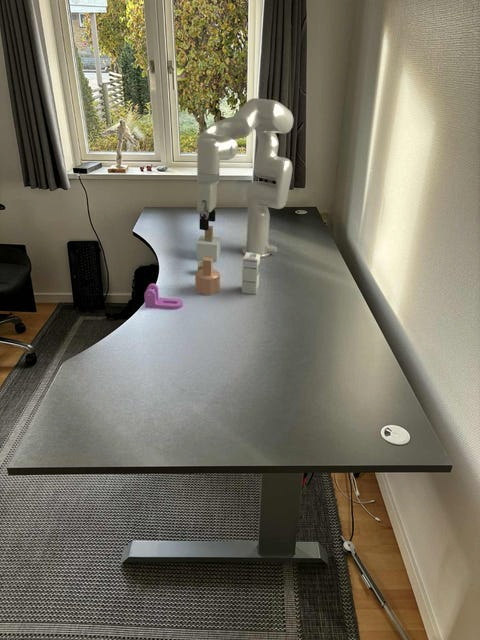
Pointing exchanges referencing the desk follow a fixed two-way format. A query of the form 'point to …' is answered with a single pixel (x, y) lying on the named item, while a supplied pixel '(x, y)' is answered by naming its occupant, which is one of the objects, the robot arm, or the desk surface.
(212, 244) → the white block
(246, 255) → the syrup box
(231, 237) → the desk surface
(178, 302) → the bracket
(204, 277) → the wooden octagon with knob
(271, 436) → the desk surface
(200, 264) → the beech cube
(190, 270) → the desk surface
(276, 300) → the desk surface
